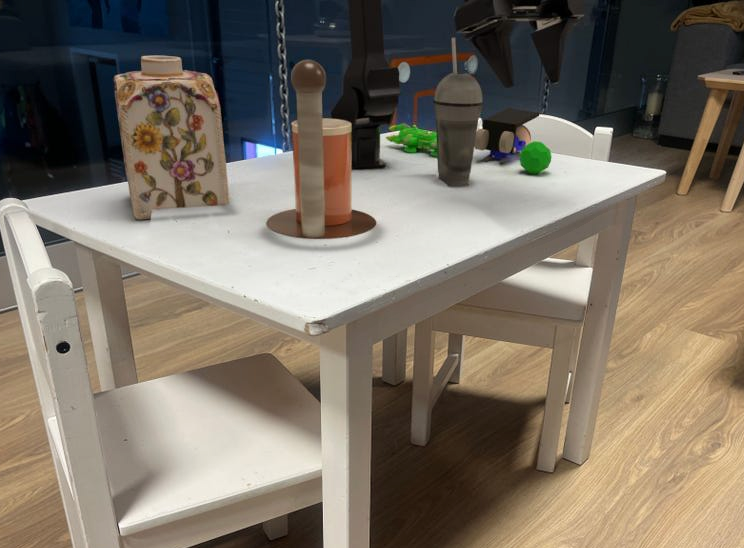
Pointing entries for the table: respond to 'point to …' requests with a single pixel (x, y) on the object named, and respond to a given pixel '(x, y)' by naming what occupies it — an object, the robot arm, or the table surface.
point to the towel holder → (313, 166)
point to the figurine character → (504, 133)
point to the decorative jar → (171, 137)
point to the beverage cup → (456, 124)
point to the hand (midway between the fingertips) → (533, 85)
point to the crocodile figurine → (414, 138)
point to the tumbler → (330, 171)
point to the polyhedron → (535, 157)
